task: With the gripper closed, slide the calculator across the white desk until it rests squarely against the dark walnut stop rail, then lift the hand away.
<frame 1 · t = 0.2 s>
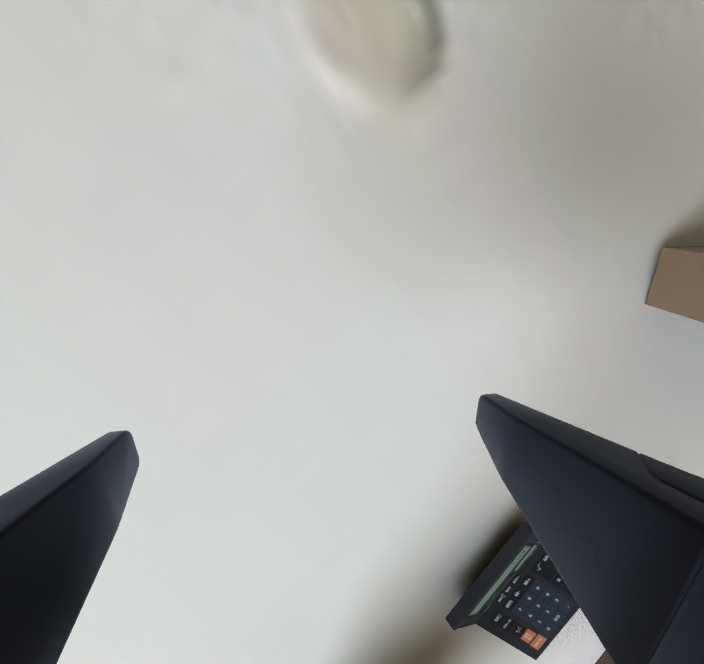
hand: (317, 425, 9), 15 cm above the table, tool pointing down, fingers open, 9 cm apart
calculator: (516, 578, 29), on the table
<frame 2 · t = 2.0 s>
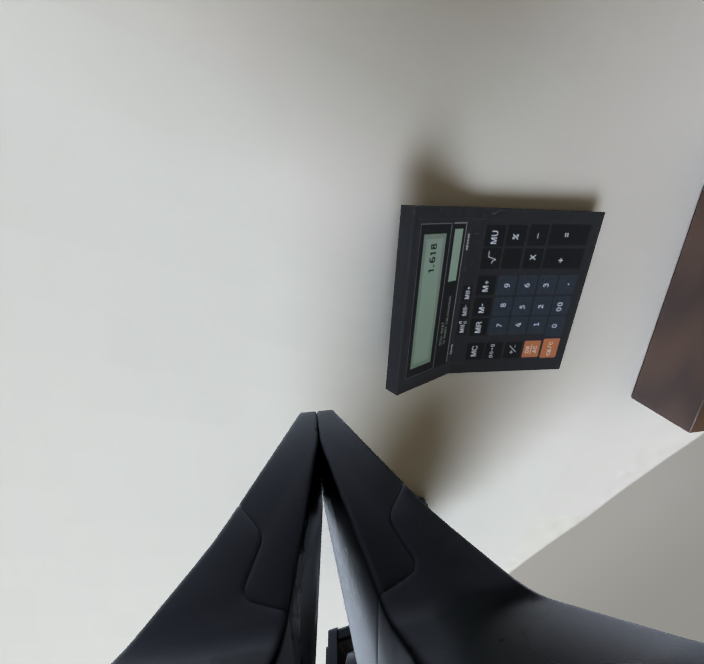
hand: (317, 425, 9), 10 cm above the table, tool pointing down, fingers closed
stop rail: (687, 281, 22), on the table
calculator: (478, 292, 20), on the table
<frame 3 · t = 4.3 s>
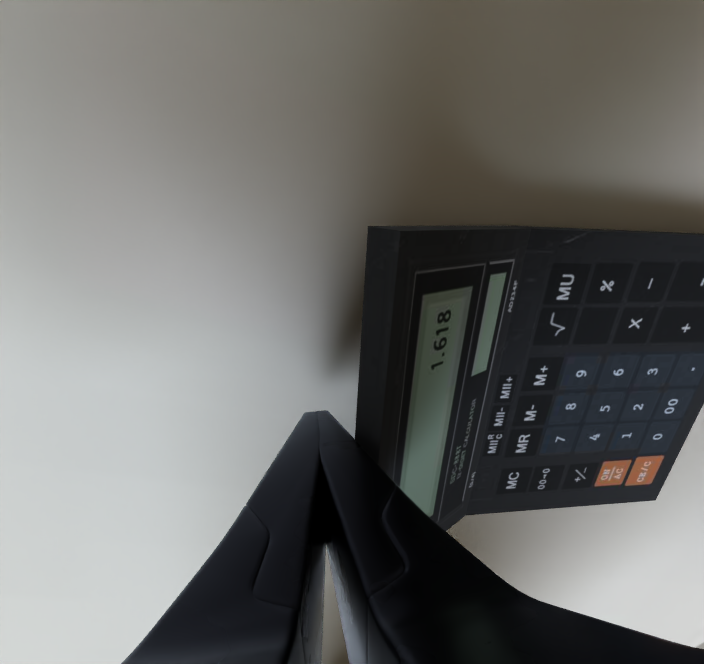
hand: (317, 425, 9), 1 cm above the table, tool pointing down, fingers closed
calculator: (522, 377, 11), on the table, touching gripper
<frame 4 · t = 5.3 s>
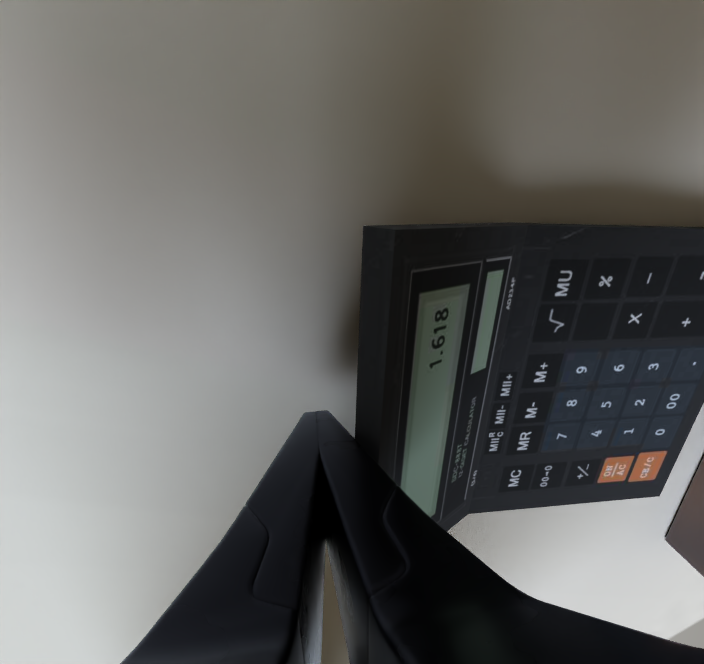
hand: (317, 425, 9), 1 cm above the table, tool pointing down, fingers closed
calculator: (522, 374, 11), on the table, touching gripper
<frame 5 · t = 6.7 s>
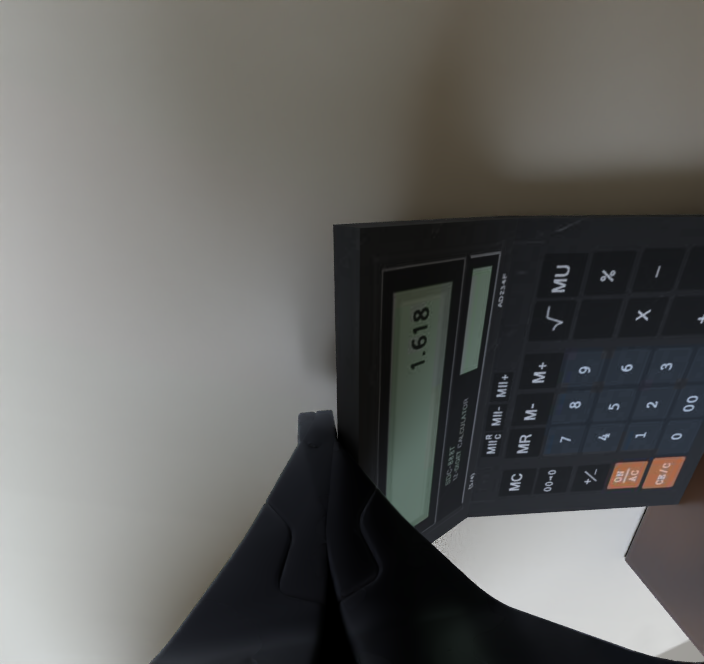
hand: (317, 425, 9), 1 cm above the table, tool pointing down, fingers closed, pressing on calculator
calculator: (523, 374, 11), on the table, touching gripper, stop rail
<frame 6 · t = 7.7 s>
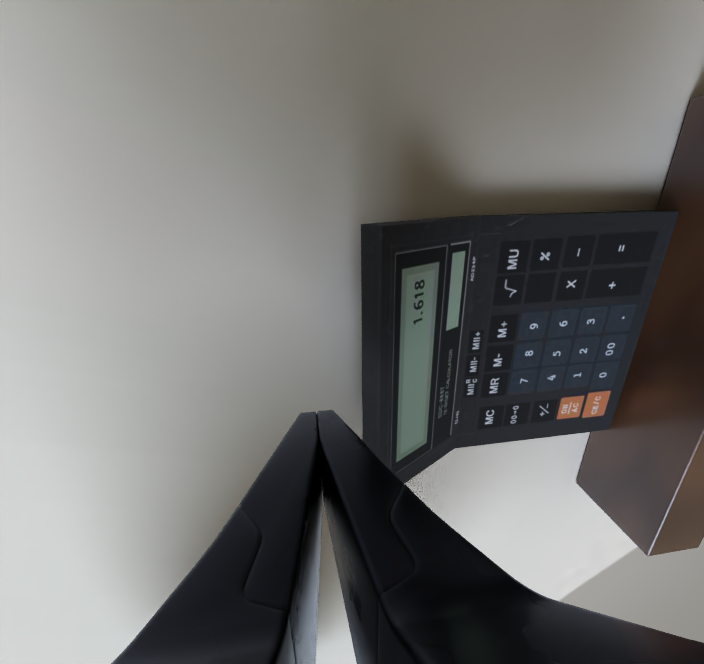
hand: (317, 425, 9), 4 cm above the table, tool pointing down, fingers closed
stop rail: (645, 329, 15), on the table
calculator: (491, 334, 14), on the table
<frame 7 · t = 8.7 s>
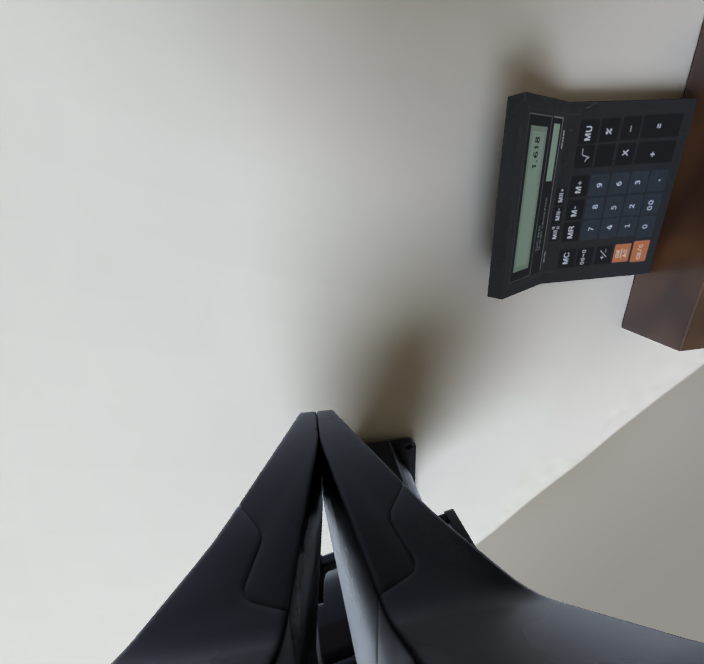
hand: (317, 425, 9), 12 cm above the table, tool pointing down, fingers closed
stop rail: (673, 196, 21), on the table
calculator: (566, 199, 20), on the table
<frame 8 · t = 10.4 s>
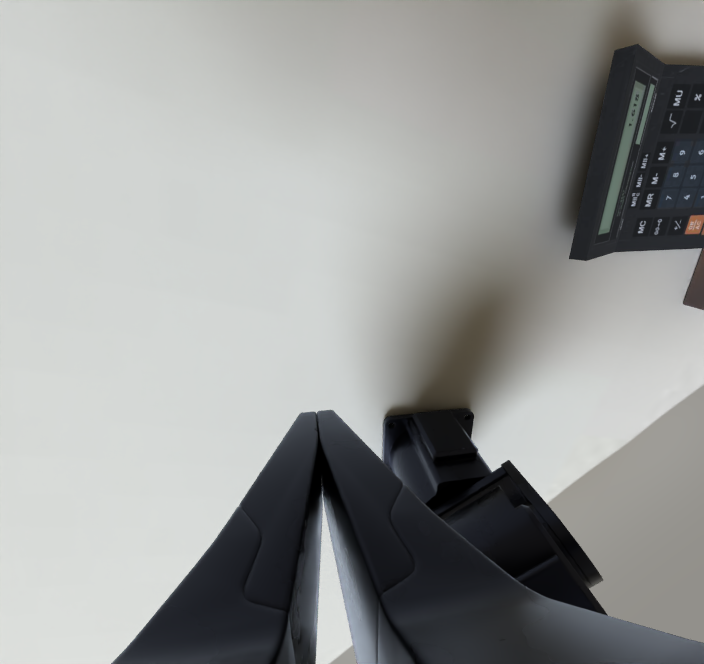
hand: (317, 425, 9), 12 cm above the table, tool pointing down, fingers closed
calculator: (644, 168, 20), on the table
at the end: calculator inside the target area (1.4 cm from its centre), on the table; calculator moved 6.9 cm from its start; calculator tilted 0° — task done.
